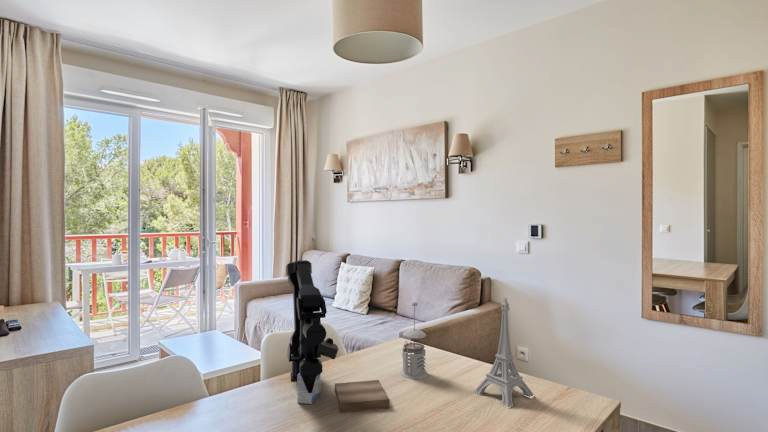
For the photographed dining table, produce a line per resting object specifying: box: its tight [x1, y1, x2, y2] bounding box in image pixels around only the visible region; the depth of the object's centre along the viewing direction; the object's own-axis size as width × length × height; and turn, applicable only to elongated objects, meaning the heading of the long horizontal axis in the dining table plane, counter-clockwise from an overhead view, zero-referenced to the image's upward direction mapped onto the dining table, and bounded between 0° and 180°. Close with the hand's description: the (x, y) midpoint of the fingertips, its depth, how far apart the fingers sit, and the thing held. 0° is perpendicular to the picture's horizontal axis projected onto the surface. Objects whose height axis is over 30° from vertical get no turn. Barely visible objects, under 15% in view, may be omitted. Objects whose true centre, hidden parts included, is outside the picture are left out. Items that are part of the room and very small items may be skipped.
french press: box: [399, 301, 429, 380], centre depth 143 cm, size 10×12×25 cm
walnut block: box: [334, 379, 390, 414], centre depth 123 cm, size 14×14×2 cm
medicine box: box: [296, 373, 322, 405], centre depth 124 cm, size 8×4×9 cm, turn 169°
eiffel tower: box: [472, 297, 535, 407], centre depth 128 cm, size 13×13×30 cm
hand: (309, 386), depth 124 cm, fingers closed on medicine box, 9 cm apart
